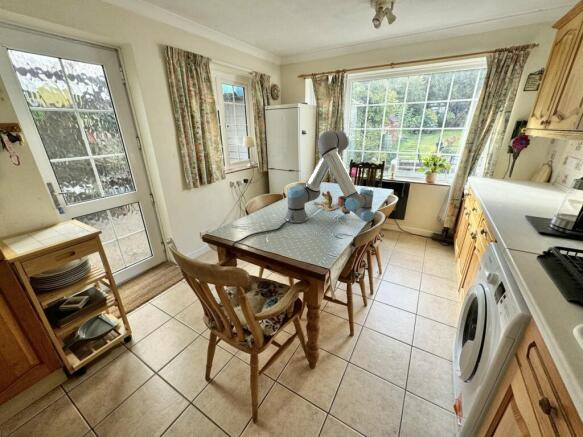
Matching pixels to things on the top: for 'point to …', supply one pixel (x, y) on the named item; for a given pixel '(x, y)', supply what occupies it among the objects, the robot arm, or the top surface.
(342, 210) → the dish brush
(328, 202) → the wooden toy
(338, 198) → the bowl
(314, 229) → the top surface
